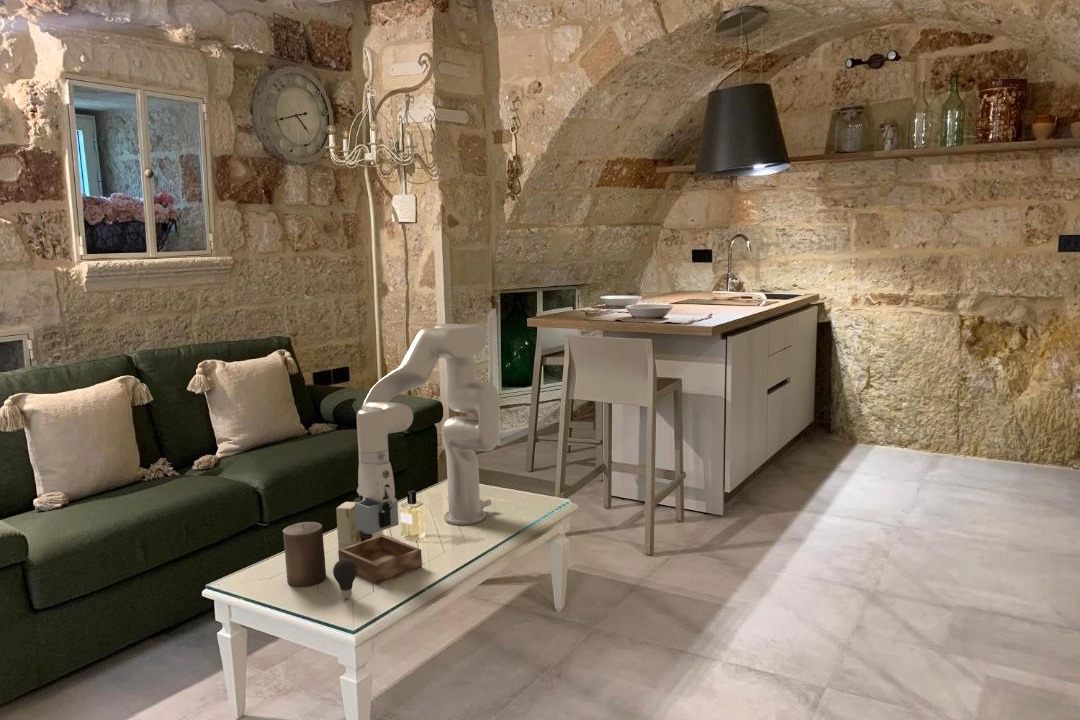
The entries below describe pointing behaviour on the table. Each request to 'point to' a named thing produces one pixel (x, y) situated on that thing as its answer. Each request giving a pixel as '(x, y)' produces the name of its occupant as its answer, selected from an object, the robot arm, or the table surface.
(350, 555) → the walnut crate
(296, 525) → the pillar candle
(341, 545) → the skincare box
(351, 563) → the light bulb
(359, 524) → the grey crate
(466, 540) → the table surface
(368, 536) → the medicine bottle
